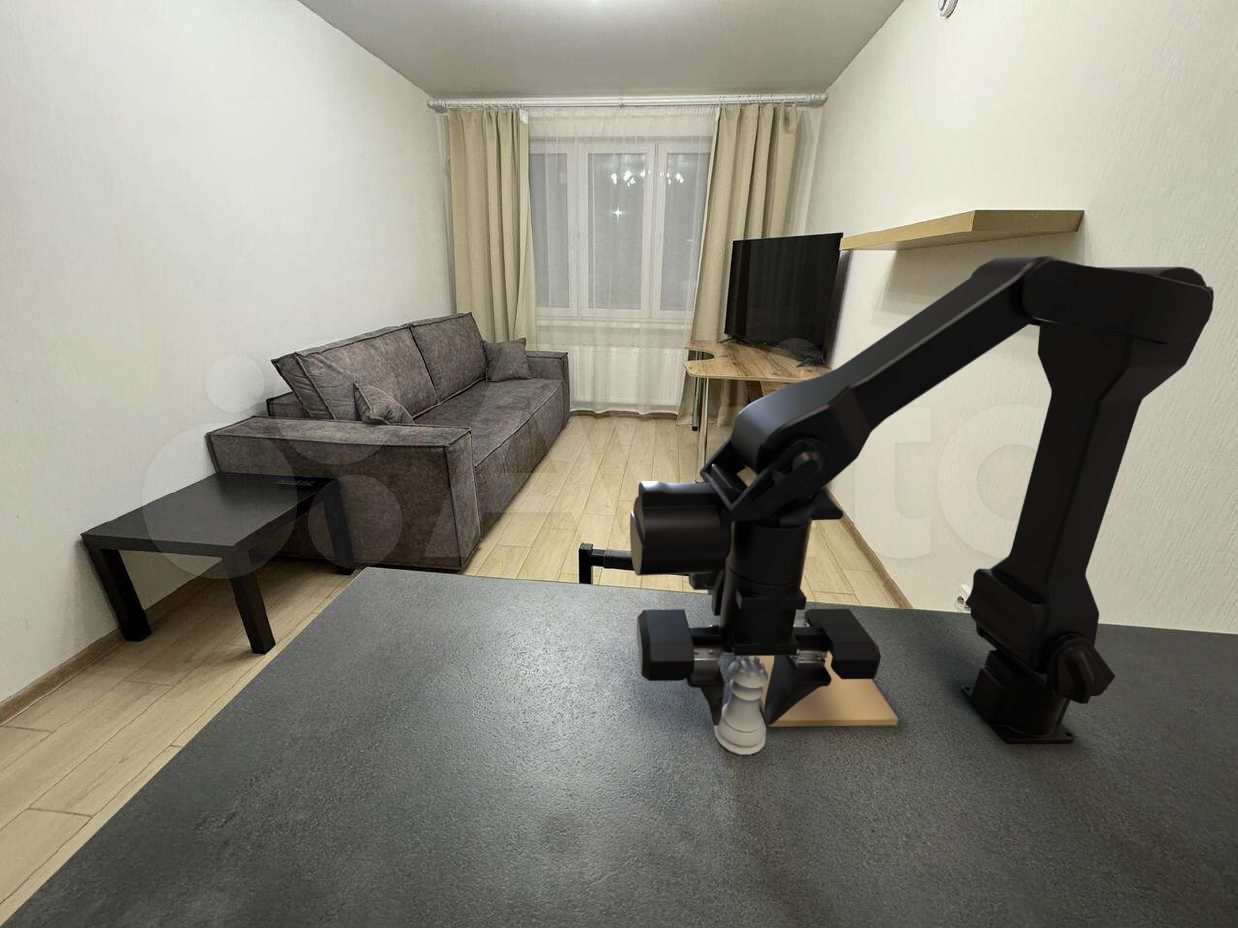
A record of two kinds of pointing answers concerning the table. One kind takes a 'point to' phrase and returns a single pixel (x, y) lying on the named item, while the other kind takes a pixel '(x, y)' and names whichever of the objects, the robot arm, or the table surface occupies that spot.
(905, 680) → the table surface
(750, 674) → the white chess queen
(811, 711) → the coaster board
